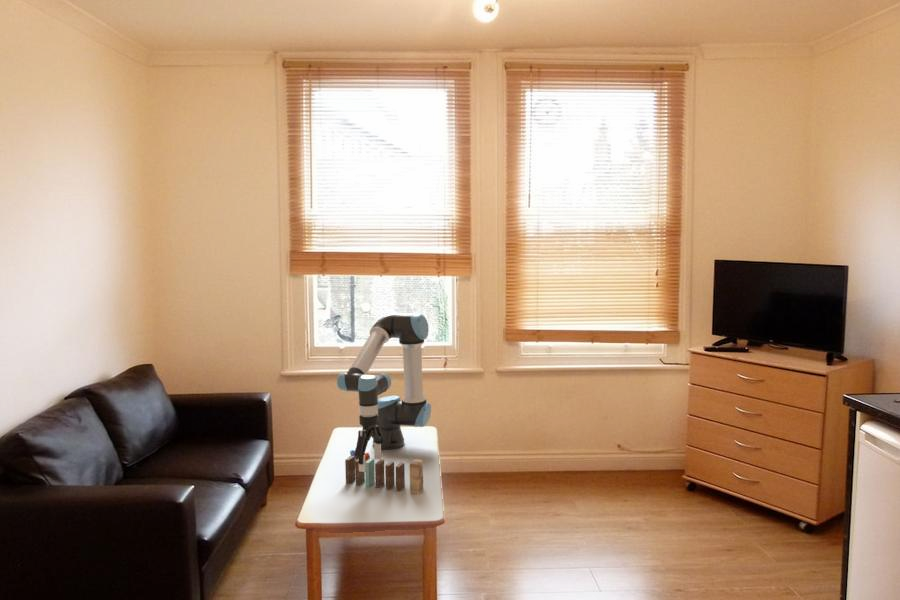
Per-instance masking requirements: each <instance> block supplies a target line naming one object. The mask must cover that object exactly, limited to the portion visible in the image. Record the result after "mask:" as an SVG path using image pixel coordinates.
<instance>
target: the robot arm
mask: <svg viewBox="0 0 900 600" xmlns="http://www.w3.org/2000/svg"><path fill="white" fill-rule="evenodd" d="M428 337H429V323H428V320H427V318H426V316H425V315H424V314H420V313H412V312H411V313H407V312H405V313H403V312H402V313H401V312H391V313H387V314H386V315H384V316H382V317H381V318H380V319H378V320H377V321H376V322H375V323H373V325H372V326H371V328H370V330H369V336H368V338H367V339H366V341H365V343H364V344H363V345H362V348H361V349H360V351H359V353H358V354H357V356H356V357H355V359H354V361H353V363H352V364H351V366H350V367H349V369H348V370H347V372H341V373H339V374H338V376H337V378H336V384H337V385H336V386H337V388H338V390H340V391H345V392H356V393H358V410H359V411H358V413H359V415H358V418H359V420H358V421H359V425H360V426H362V430H358V432H357V433H358V434H357V442H356V447H355V449H356V451H355V450H354V451H355V456H358V461H359V471H361V472H366V462H365V456H364V454H365V453H366V449H367V446H368V443H369V441H370V439H371V438H372V445H373V446H372V447H373V449H374V452H373V453H374V460H382V450H396V449H399V448H401V447H403V446H404V445H405V438H404V434H403V432H402V428H401V426H407V427H414V428H418V427H419V428H424V427H425V426H427V424H428V423H429V419H430V417H431V413H432V404H431V403H430V402H427V397H426V396H425V395H424V392H423V391H424V389H423V387H424V385H423V362H422V360H423V359H422V345H423V344H424V343H425V340H426V339H427V338H428ZM390 339H398V341H399V343H398V344H399V345H401V346H402V359H403V360H402V362H403V380H404V381H403V386H404V396H403V397H400V396H399V395H389V396H388V395H387V396H383V397H380V398H379V396H380V395H381V394H384V393H385V392H387V391H388V390H389V389H390V388H391V386H392V378H391V377H390V375H389V374H387V373H383V372H382V373H378V374H368V372H369V371H370V369H371V367H372V365H373V364H374V362H375V360H376V358H377V357H378V355H379V353H380V351H381V350H382V348H383V346H384V345H385V344H387V343H388V342H389V340H390Z"/></svg>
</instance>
